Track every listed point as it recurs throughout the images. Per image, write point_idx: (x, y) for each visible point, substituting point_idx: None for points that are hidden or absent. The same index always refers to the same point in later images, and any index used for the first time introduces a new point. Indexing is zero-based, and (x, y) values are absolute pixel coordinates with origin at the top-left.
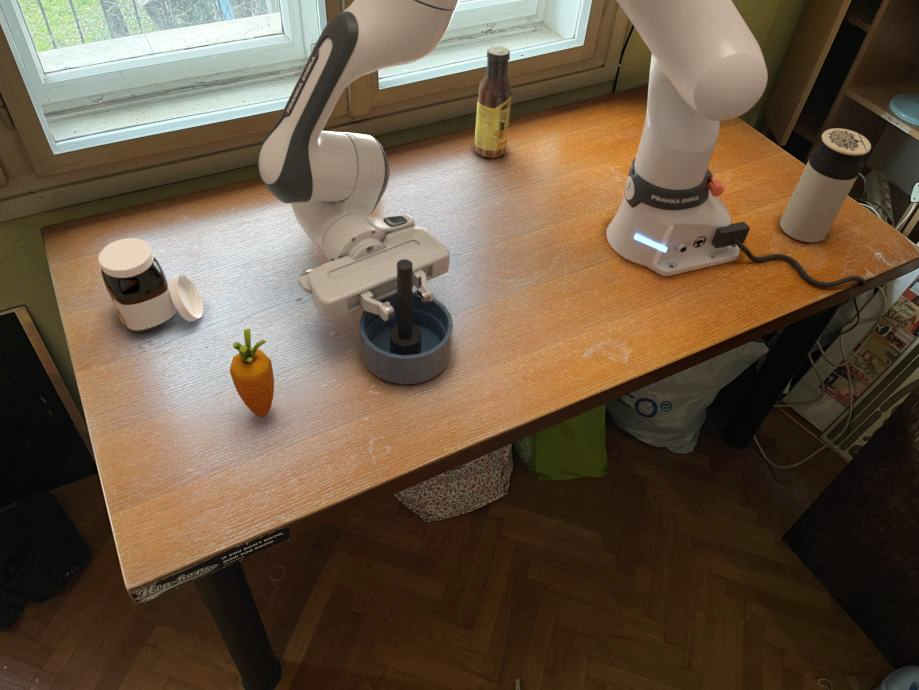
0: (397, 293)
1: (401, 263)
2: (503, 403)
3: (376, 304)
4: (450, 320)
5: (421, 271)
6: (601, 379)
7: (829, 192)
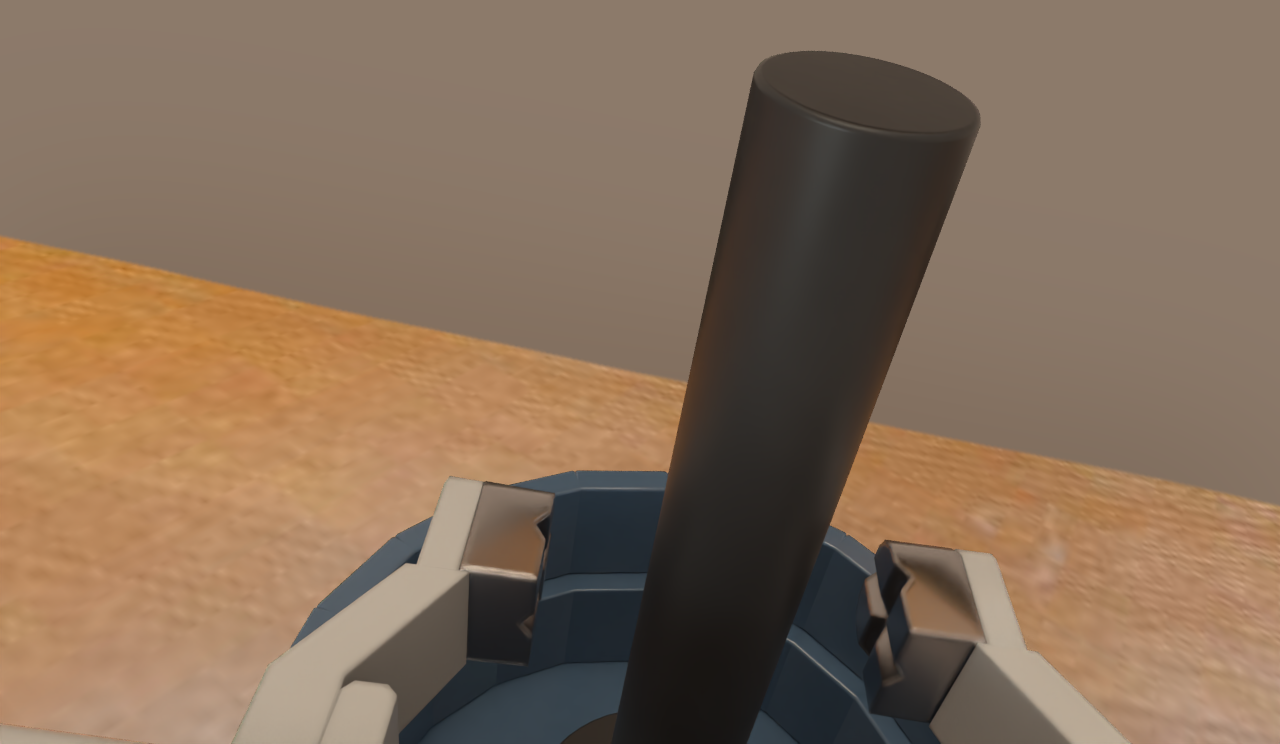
0: (828, 527)
1: (904, 107)
2: (464, 401)
3: (1044, 664)
4: (369, 571)
5: (255, 742)
6: (88, 275)
7: None
